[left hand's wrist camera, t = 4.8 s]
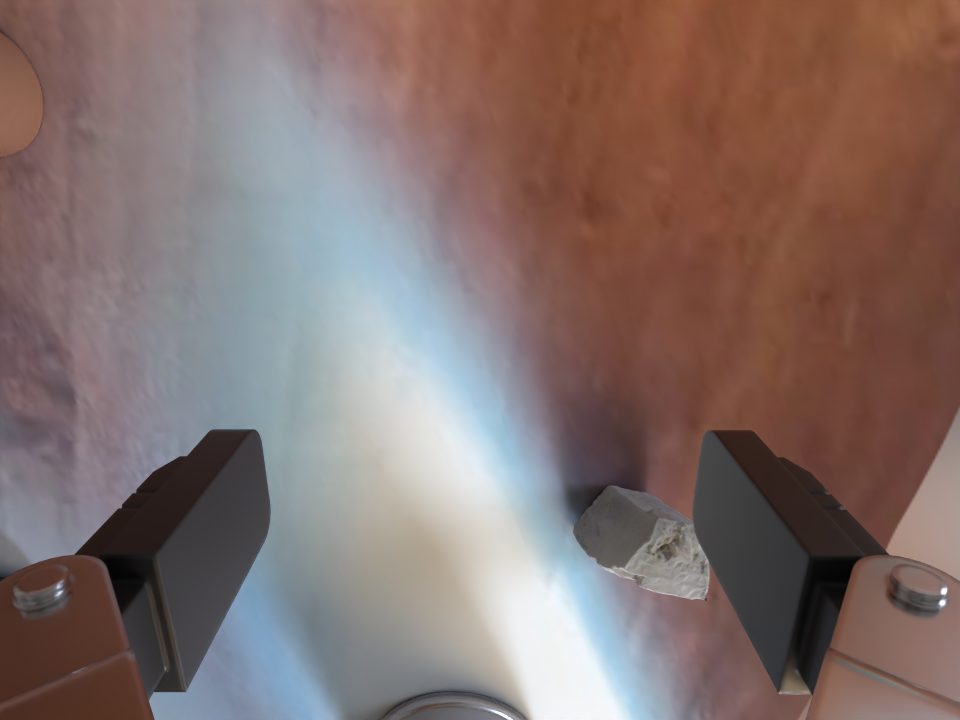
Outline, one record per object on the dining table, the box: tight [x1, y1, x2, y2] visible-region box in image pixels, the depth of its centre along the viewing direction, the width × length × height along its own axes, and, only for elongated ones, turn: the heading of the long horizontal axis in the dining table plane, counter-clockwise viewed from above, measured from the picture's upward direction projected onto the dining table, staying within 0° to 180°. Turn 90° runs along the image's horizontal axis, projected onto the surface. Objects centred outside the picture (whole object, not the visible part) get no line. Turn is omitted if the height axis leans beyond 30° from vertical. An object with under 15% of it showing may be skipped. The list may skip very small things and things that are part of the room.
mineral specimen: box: [573, 485, 709, 601], centre depth 42 cm, size 7×9×8 cm
